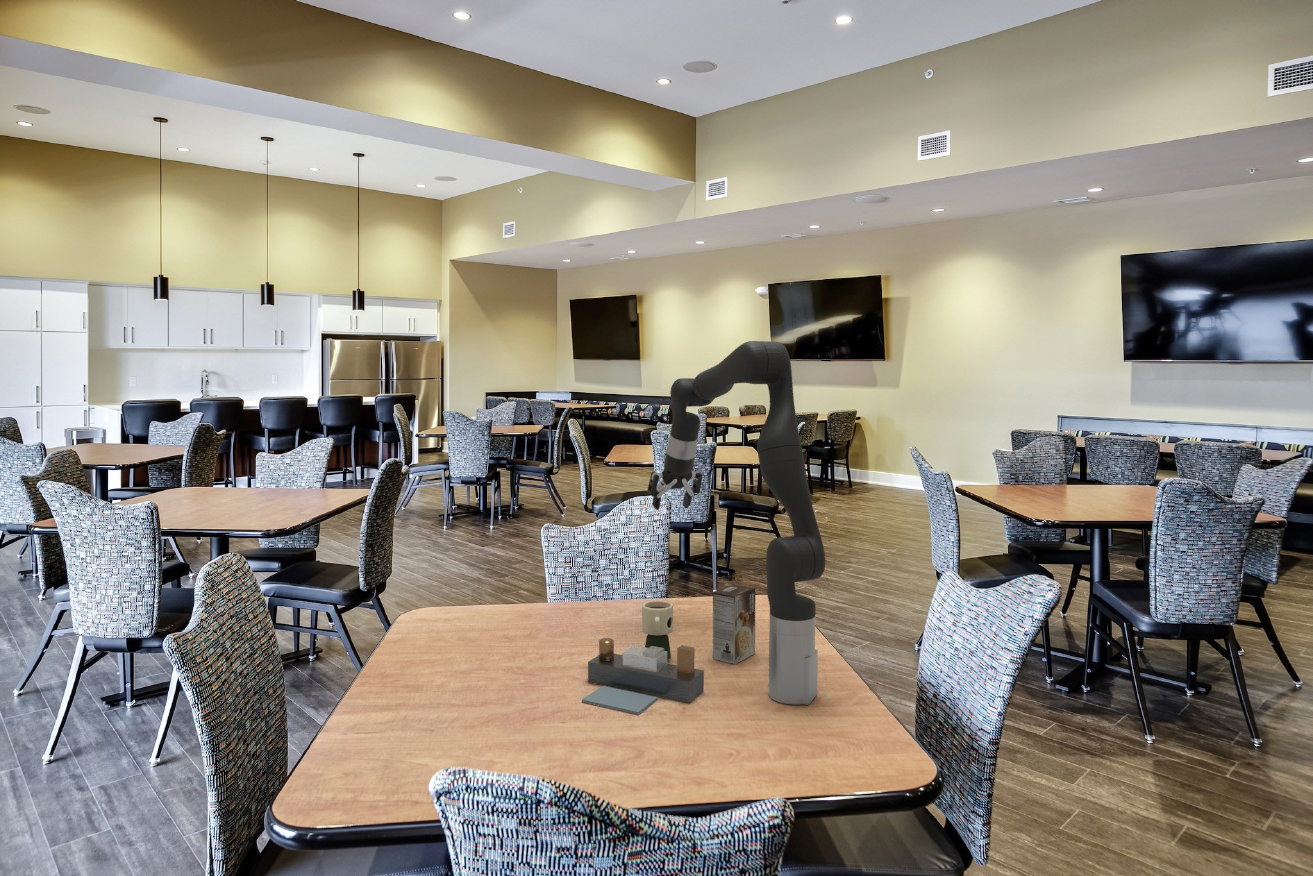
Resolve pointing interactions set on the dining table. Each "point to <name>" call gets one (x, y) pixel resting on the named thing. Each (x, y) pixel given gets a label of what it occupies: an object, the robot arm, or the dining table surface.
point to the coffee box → (733, 623)
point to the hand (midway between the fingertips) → (670, 507)
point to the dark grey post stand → (648, 674)
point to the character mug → (657, 624)
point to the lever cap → (645, 658)
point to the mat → (620, 700)
